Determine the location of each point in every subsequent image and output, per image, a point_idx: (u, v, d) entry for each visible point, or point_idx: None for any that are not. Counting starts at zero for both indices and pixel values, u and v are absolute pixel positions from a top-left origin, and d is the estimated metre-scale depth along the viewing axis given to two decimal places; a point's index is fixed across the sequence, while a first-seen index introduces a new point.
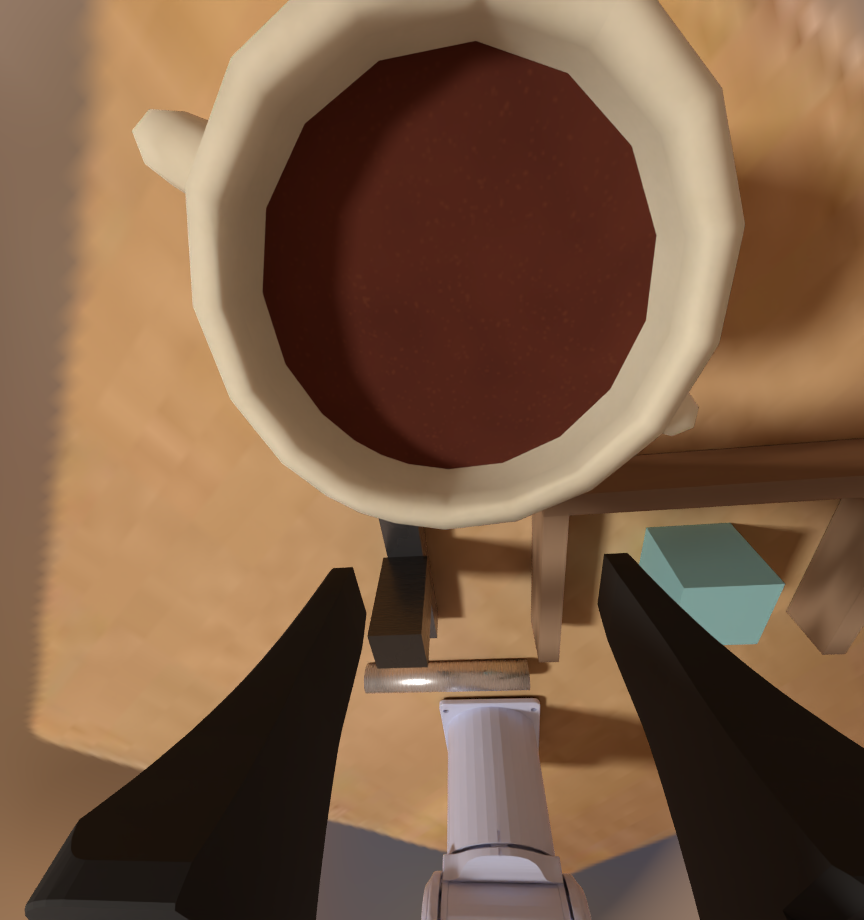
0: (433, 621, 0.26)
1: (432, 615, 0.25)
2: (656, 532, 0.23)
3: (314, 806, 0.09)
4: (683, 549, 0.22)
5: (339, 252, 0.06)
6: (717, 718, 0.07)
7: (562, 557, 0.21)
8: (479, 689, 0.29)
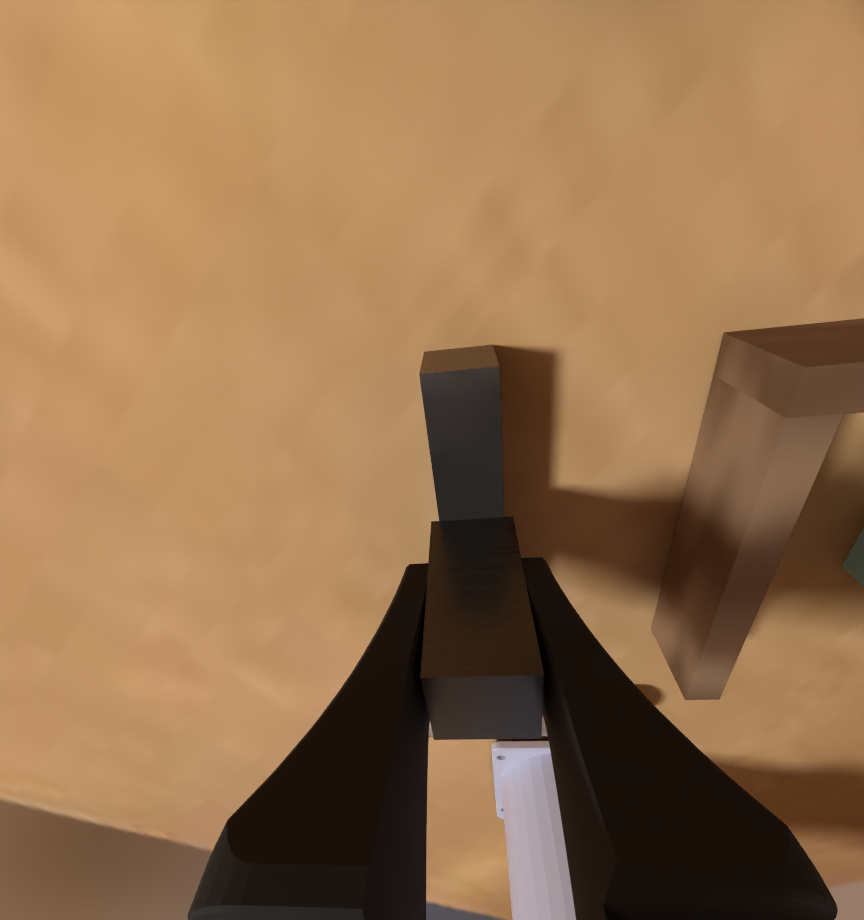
0: None
1: None
2: None
3: (420, 807, 0.08)
4: None
5: None
6: (573, 720, 0.07)
7: (794, 509, 0.10)
8: None
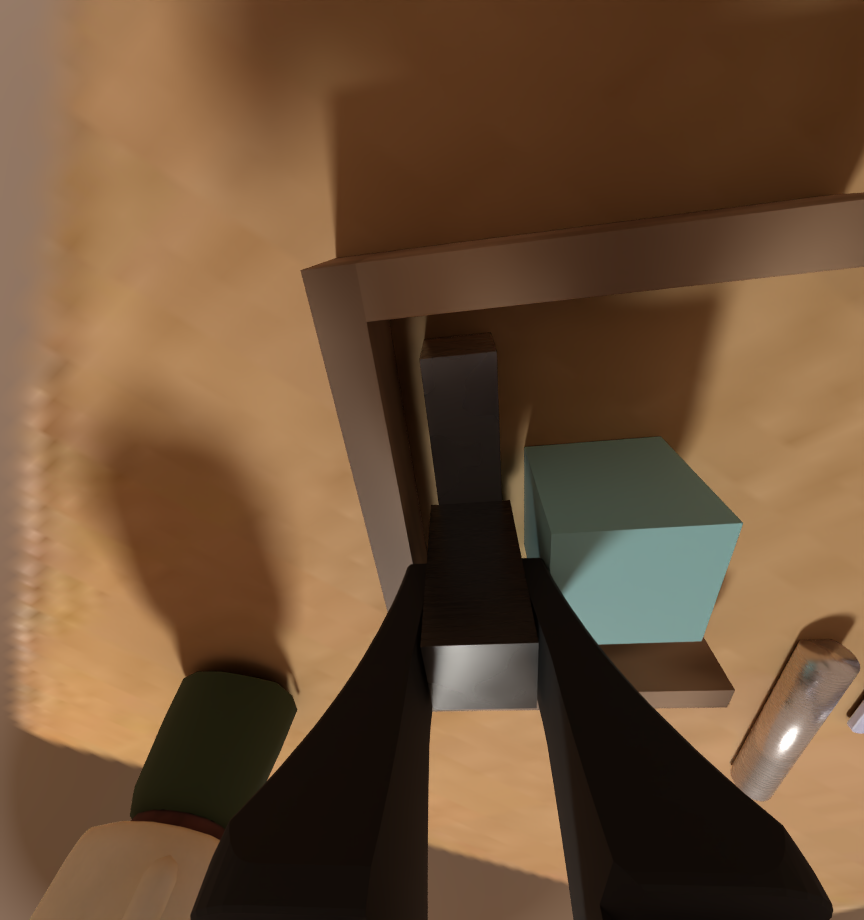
0: None
1: None
2: (526, 546, 0.16)
3: (421, 807, 0.08)
4: None
5: None
6: (571, 720, 0.07)
7: None
8: (826, 717, 0.19)
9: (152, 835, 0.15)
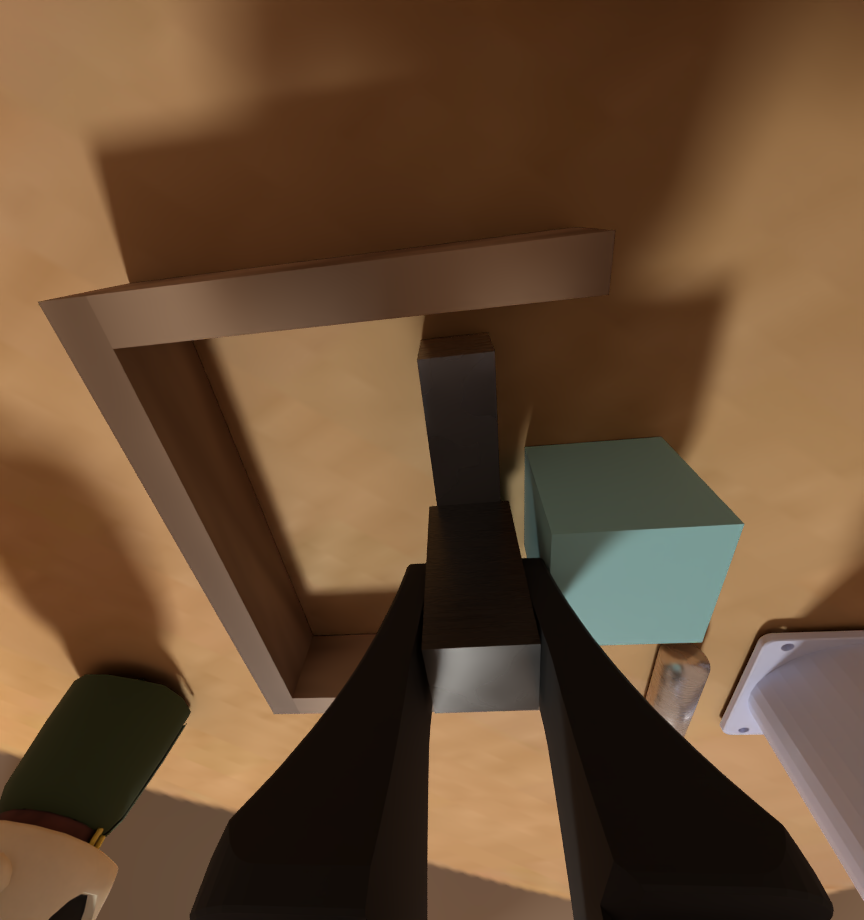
0: None
1: None
2: (526, 546, 0.16)
3: (421, 807, 0.08)
4: None
5: None
6: (571, 720, 0.07)
7: None
8: (692, 715, 0.20)
9: None
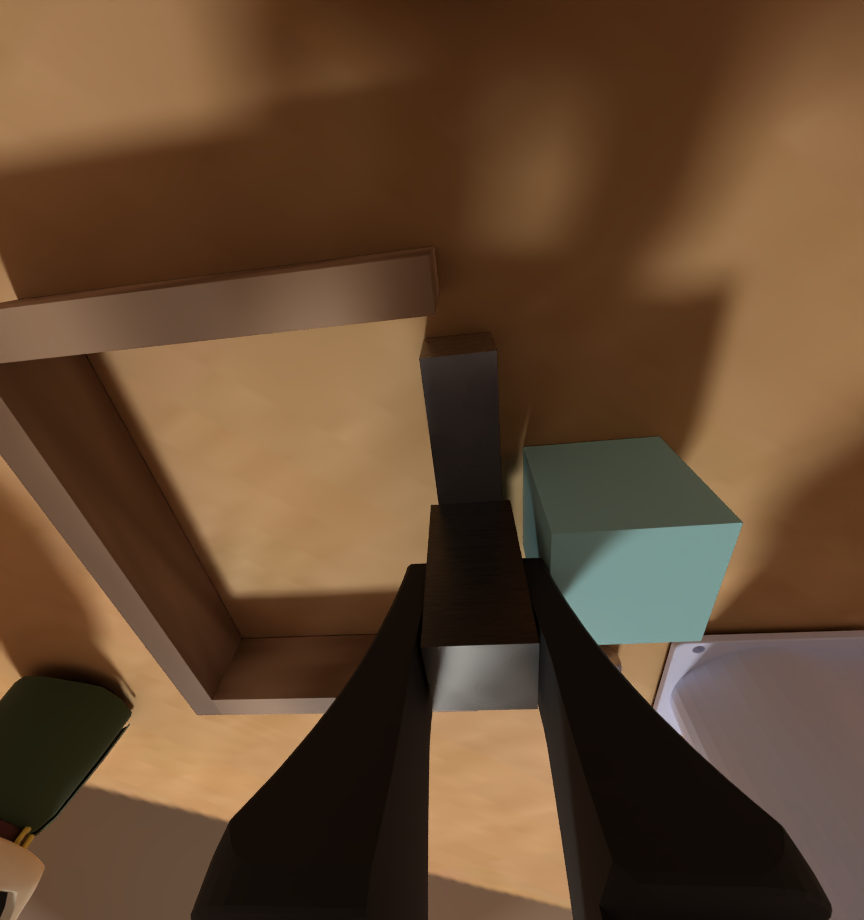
0: None
1: None
2: (525, 547, 0.16)
3: (422, 807, 0.08)
4: None
5: None
6: (570, 720, 0.07)
7: (271, 701, 0.18)
8: None
9: None
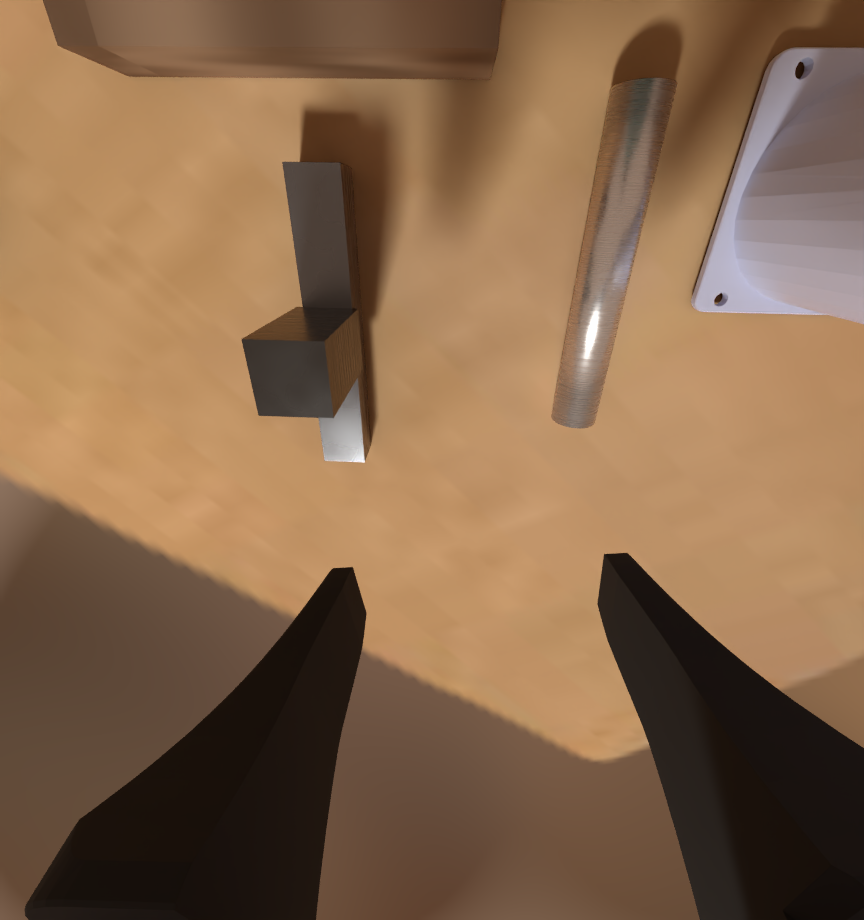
0: (361, 433, 0.19)
1: (360, 422, 0.19)
2: None
3: (314, 806, 0.09)
4: None
5: None
6: (717, 718, 0.07)
7: None
8: (627, 213, 0.14)
9: None
